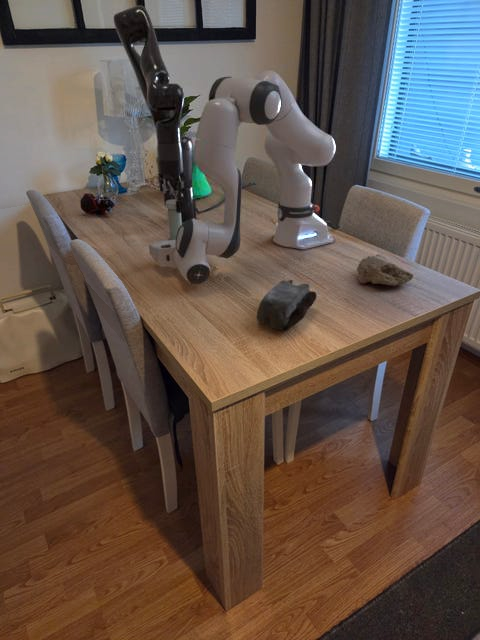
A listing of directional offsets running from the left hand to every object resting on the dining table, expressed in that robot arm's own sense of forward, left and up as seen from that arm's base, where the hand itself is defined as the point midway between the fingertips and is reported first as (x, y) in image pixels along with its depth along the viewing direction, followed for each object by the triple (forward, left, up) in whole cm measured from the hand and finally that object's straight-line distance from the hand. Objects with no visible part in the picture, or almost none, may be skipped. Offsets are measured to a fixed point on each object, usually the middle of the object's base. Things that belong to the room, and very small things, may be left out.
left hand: (174, 209), depth 145 cm
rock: (+8, +53, -17) cm, 56 cm away
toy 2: (-54, -50, -17) cm, 76 cm away
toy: (-8, -58, -17) cm, 61 cm away
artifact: (-30, +61, -17) cm, 69 cm away
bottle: (0, 0, -17) cm, 17 cm away
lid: (0, 0, +2) cm, 2 cm away
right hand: (0, -1, -11) cm, 11 cm away
